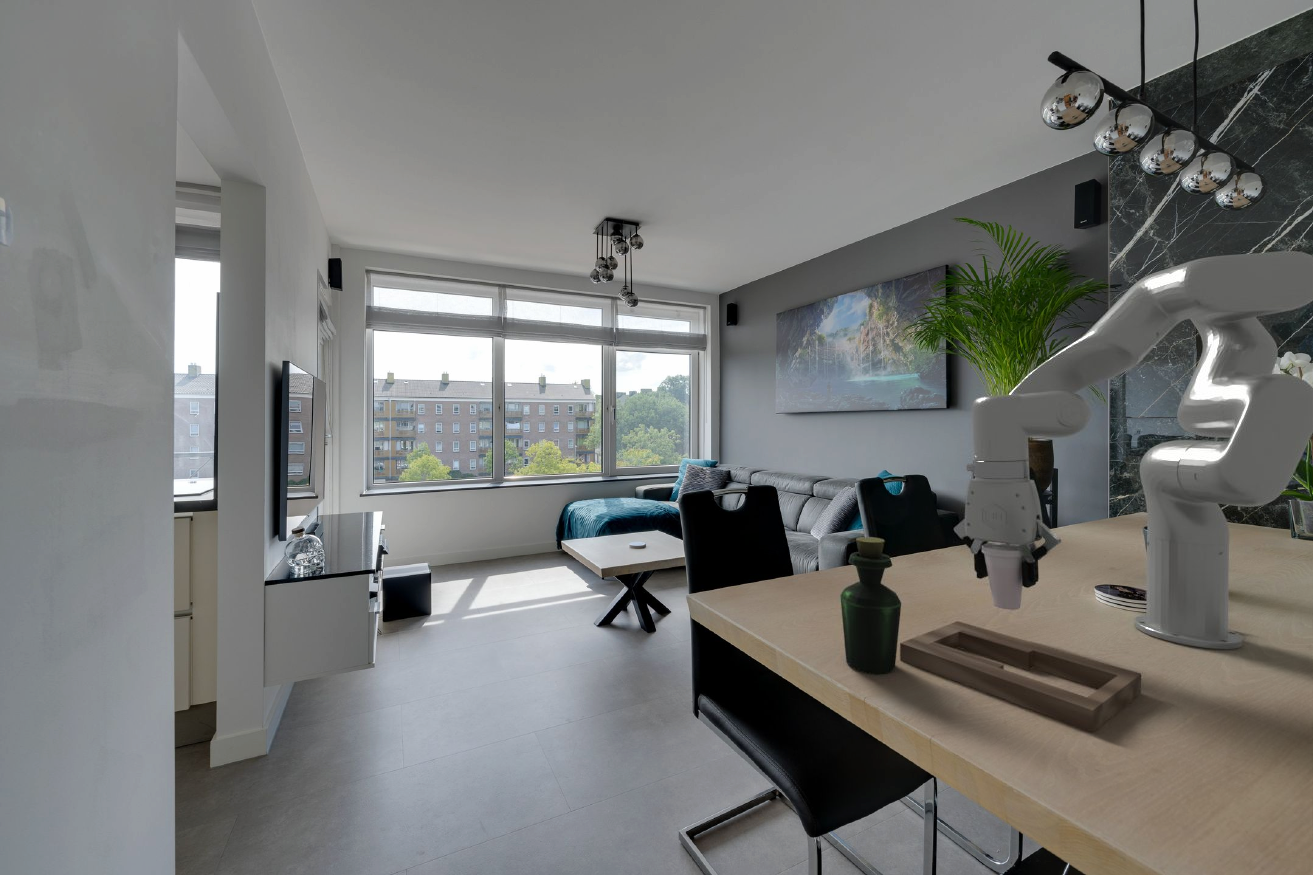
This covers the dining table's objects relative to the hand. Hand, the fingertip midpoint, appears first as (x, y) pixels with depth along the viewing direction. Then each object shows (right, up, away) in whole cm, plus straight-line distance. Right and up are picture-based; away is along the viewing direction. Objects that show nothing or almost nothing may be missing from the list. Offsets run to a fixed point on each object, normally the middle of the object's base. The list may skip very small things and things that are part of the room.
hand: (1005, 580), depth 89 cm
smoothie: (0, -4, 0) cm, 4 cm away
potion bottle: (-26, -10, -11) cm, 30 cm away
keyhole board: (-8, -9, -14) cm, 19 cm away
